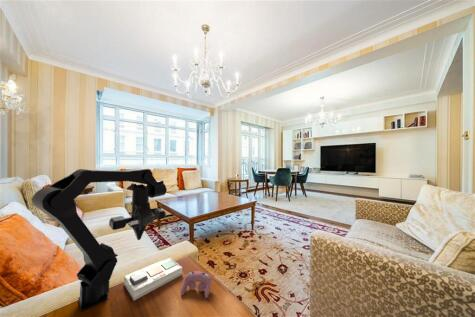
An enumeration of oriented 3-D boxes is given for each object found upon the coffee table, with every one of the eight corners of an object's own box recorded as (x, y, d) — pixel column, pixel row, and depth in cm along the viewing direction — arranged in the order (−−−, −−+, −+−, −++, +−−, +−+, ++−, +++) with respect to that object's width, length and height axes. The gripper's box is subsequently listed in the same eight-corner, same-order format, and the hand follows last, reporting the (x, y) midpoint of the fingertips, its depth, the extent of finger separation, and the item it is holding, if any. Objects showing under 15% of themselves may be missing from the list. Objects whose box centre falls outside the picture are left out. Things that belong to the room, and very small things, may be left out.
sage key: (165, 274, 65) (166, 269, 65) (160, 269, 68) (161, 264, 68) (176, 269, 69) (176, 264, 69) (170, 264, 71) (171, 259, 71)
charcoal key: (134, 287, 57) (134, 281, 57) (129, 281, 60) (130, 275, 60) (147, 281, 60) (147, 275, 60) (142, 275, 63) (142, 269, 63)
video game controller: (210, 295, 60) (213, 271, 63) (207, 299, 56) (210, 273, 59) (183, 292, 61) (187, 269, 64) (178, 296, 57) (183, 271, 60)
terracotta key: (151, 282, 61) (151, 276, 61) (146, 276, 64) (146, 270, 64) (162, 276, 64) (162, 270, 64) (157, 271, 67) (157, 265, 67)
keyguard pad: (133, 300, 54) (134, 290, 54) (123, 284, 61) (124, 275, 61) (181, 274, 67) (182, 266, 67) (169, 263, 74) (169, 256, 74)
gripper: (118, 209, 55) (116, 257, 55) (173, 200, 69) (171, 238, 69) (109, 202, 62) (107, 245, 62) (160, 195, 76) (158, 230, 77)
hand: (138, 239), depth 67 cm, fingers closed
